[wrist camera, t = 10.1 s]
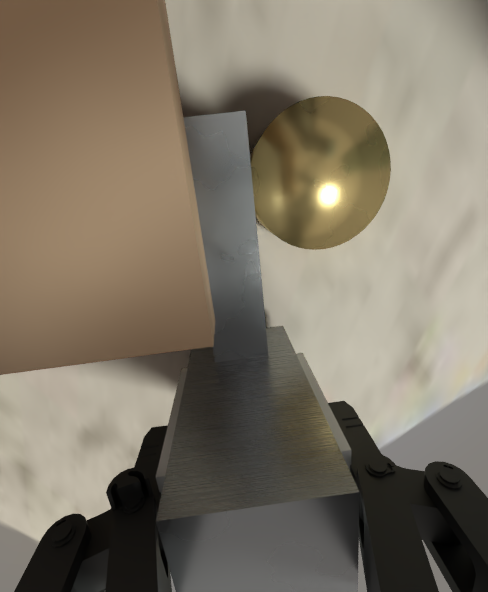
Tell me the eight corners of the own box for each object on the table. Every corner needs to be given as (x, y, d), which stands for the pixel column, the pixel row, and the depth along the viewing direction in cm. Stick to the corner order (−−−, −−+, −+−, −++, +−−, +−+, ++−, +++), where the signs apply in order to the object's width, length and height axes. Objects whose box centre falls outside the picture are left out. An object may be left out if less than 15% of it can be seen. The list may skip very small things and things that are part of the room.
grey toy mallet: (158, 137, 14) (5, 0, 4) (268, 125, 14) (369, -35, 4) (207, 410, 18) (189, 640, 9) (288, 399, 18) (357, 614, 9)
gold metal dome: (238, 123, 14) (242, 105, 12) (360, 109, 15) (393, 88, 12) (251, 247, 16) (258, 257, 14) (359, 233, 17) (388, 240, 14)
